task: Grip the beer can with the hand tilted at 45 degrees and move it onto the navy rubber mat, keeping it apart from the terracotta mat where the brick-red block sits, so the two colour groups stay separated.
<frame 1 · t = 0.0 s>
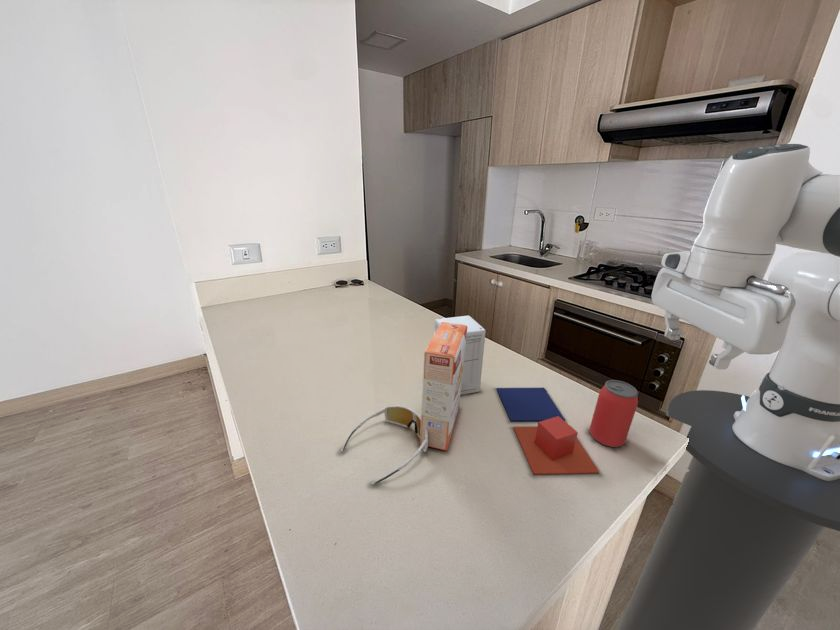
hand: (692, 351, 55), 23 cm above the counter, tool pointing down, fingers open, 8 cm apart
sunglasses: (388, 448, 66), on the counter, touching cracker box
terracotta mat: (552, 449, 66), on the counter
beer can: (606, 437, 70), on the counter
cracker box: (441, 426, 72), on the counter, touching sunglasses
navy mat: (528, 404, 79), on the counter
supplement box: (455, 385, 86), on the counter
red block: (553, 447, 66), resting on terracotta mat
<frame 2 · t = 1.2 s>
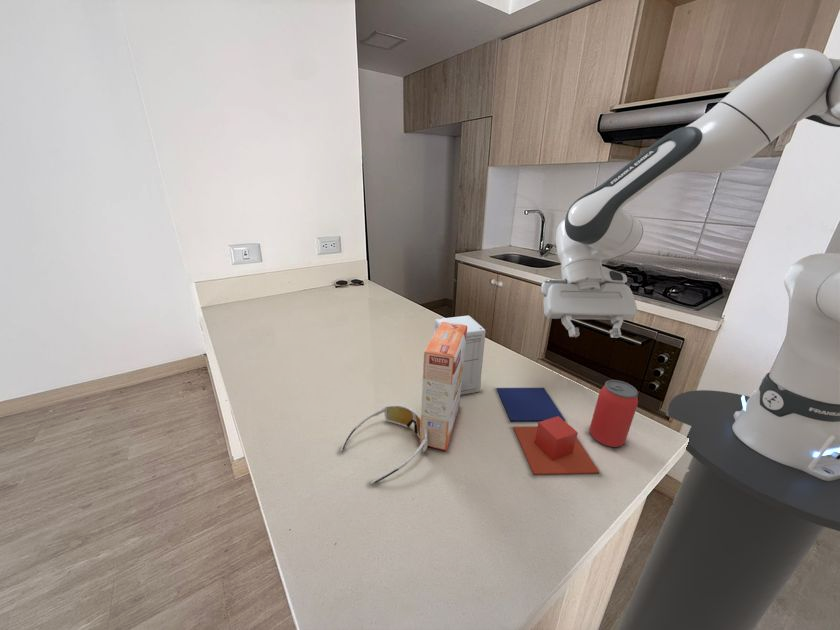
hand: (595, 336, 74), 17 cm above the counter, tool tilted 45°, fingers open, 8 cm apart
nothing on the counter moved.
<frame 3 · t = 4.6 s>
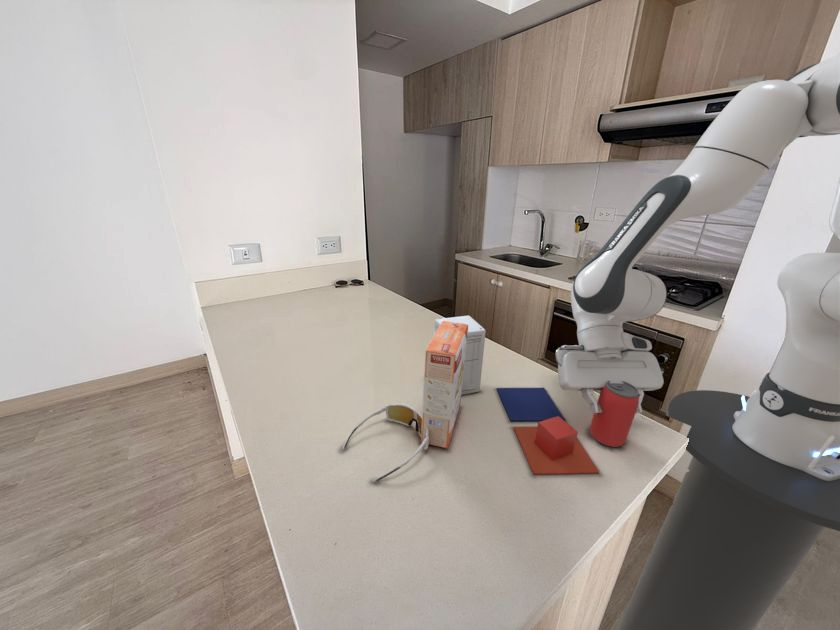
hand: (617, 413, 67), 7 cm above the counter, tool tilted 45°, fingers closed on beer can, 6 cm apart
sunglasses: (389, 446, 66), on the counter, touching cracker box
beer can: (606, 437, 70), on the counter, touching gripper
cracker box: (442, 424, 72), on the counter, touching sunglasses
everything else where it was.
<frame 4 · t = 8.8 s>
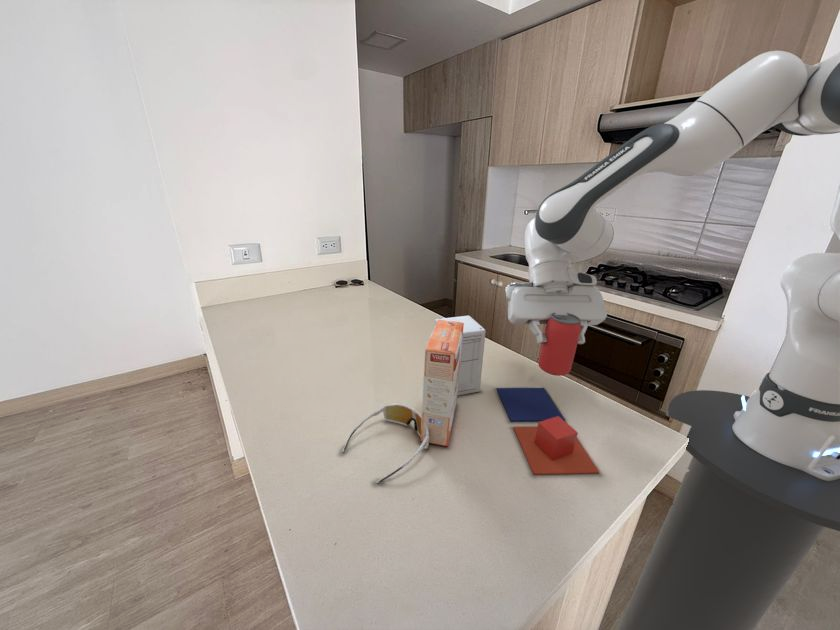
hand: (561, 343, 70), 18 cm above the counter, tool tilted 45°, fingers closed on beer can, 6 cm apart
beer can: (553, 369, 73), point 11 cm above the counter, touching gripper
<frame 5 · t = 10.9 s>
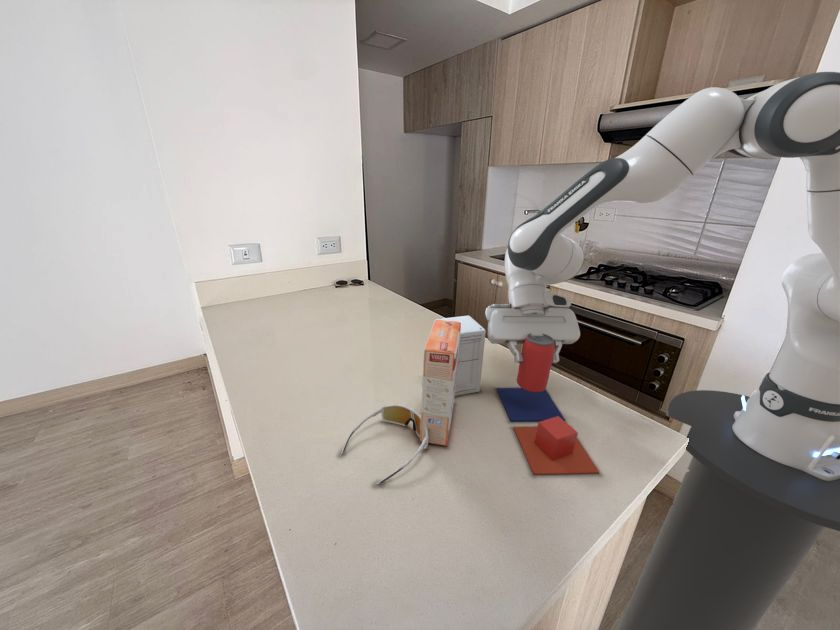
hand: (537, 362, 74), 12 cm above the counter, tool tilted 45°, fingers closed on beer can, 6 cm apart
beer can: (530, 386, 77), point 5 cm above the counter, touching gripper
when the fingers open (7 cm above the counter, at t = 12.8 s): beer can stays where it is, resting on navy mat.
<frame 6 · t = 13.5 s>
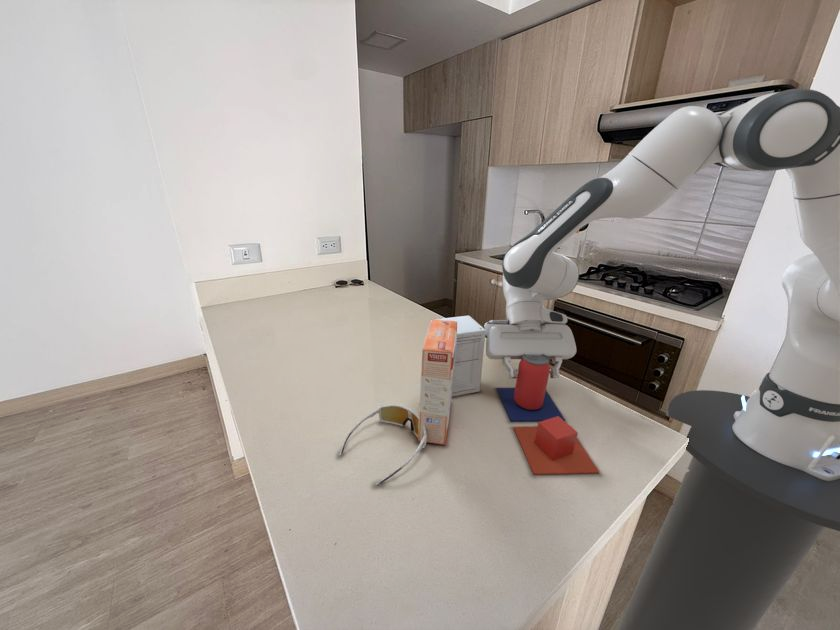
hand: (534, 378, 76), 8 cm above the counter, tool tilted 45°, fingers open, 8 cm apart
beer can: (527, 403, 79), resting on navy mat
cracker box: (436, 421, 73), on the counter, touching sunglasses
everything else where it was.
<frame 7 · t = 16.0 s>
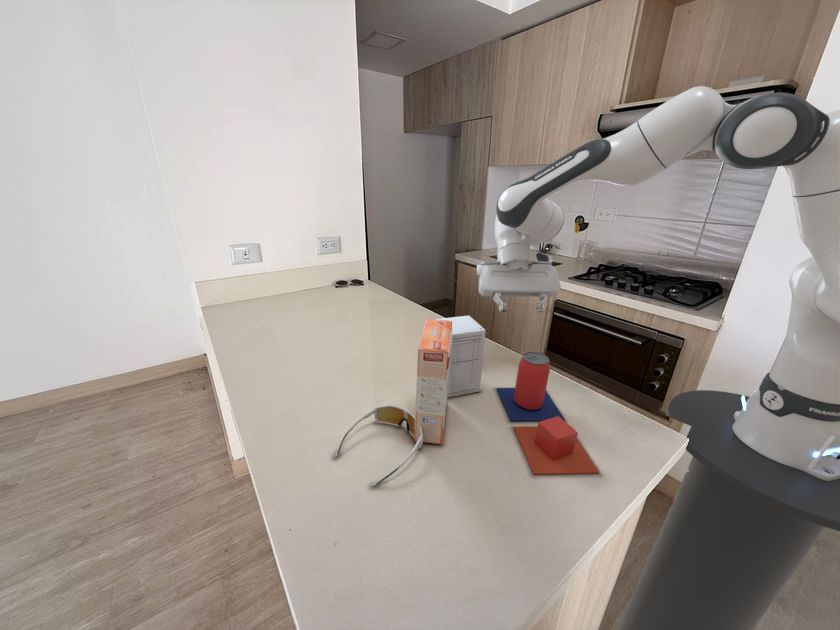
hand: (522, 311, 83), 18 cm above the counter, tool tilted 45°, fingers open, 8 cm apart
cracker box: (431, 421, 73), on the counter, touching sunglasses
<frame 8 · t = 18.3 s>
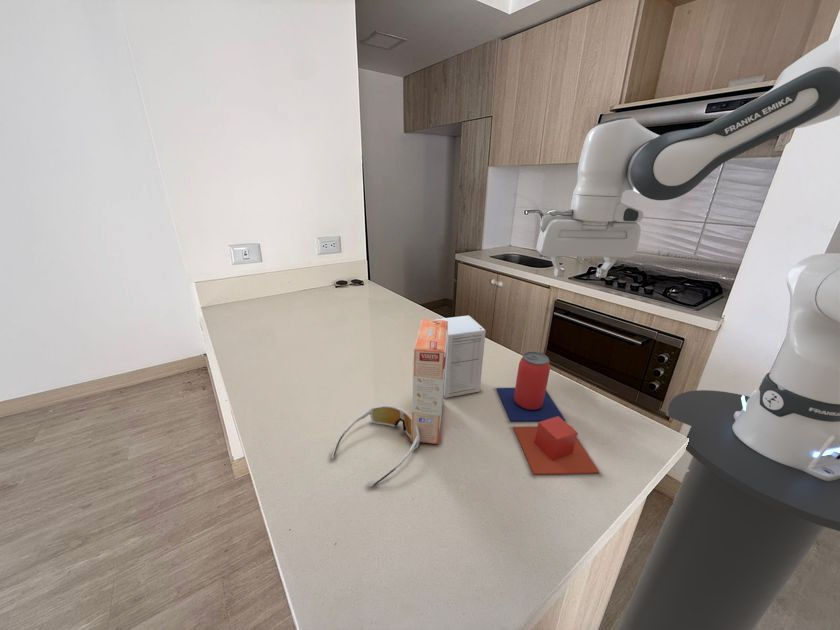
hand: (579, 276, 74), 29 cm above the counter, tool pointing down, fingers open, 8 cm apart
cracker box: (428, 421, 73), on the counter, touching sunglasses
at the end: beer can inside the target area on the navy mat (0.1 cm from its centre), point 0.2 cm above the navy mat's base; beer can tilted 0°; red block moved 0.0 cm from its start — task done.
